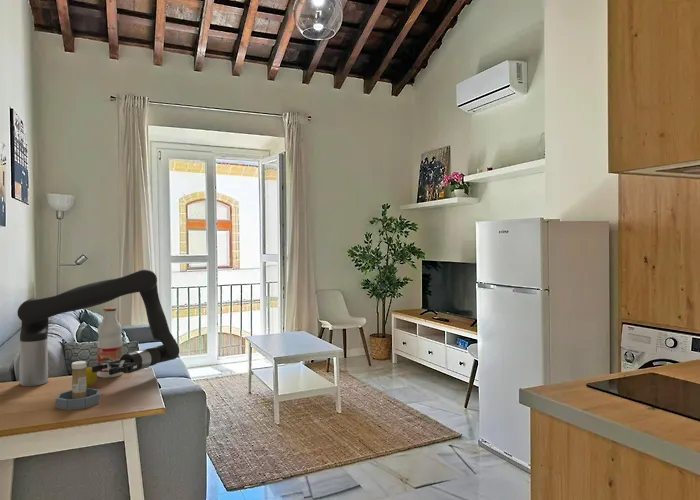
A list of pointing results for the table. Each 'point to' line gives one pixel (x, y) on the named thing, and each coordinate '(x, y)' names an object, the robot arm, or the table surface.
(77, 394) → the spice jar
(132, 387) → the table surface
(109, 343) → the fruit juice
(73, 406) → the bowl
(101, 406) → the table surface
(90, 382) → the lemon
